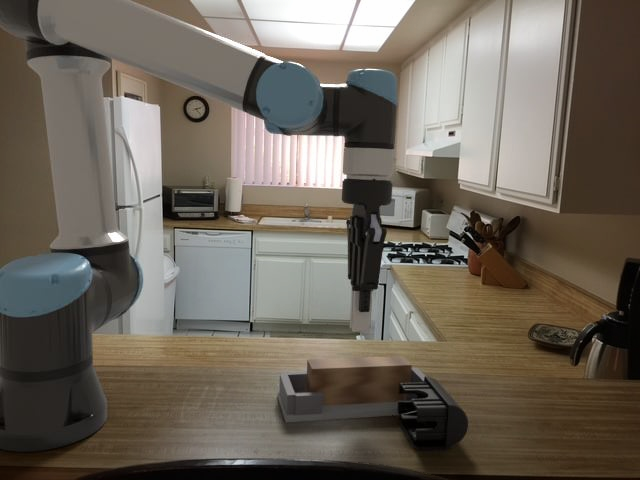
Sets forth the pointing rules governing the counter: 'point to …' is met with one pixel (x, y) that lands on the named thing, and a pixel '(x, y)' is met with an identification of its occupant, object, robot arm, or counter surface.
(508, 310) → the counter surface
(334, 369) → the wooden block
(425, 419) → the end cap
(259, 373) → the counter surface
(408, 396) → the holder
